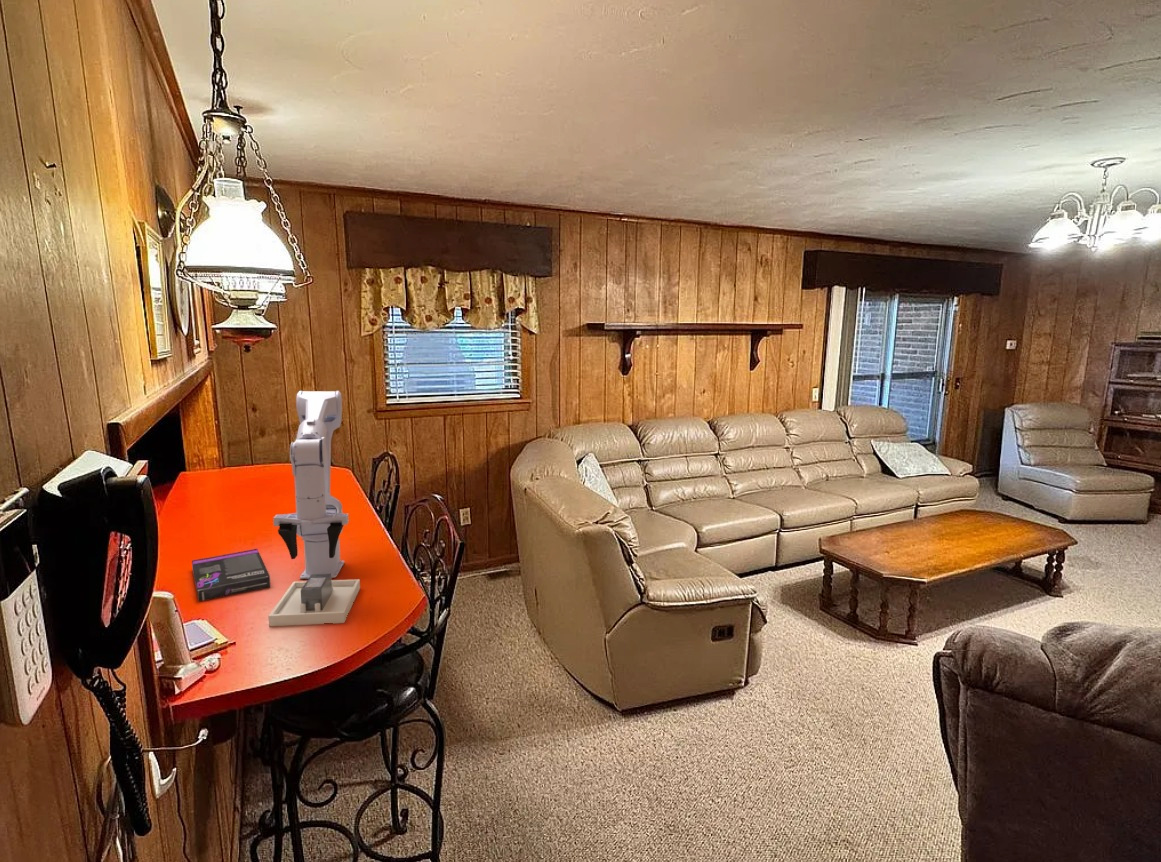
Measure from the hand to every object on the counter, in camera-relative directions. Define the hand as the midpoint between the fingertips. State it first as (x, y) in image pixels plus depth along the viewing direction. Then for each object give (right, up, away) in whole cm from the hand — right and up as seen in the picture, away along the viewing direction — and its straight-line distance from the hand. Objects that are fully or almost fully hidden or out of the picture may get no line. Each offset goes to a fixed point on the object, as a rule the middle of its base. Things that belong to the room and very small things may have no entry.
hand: (313, 556), depth 129 cm
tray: (+2, -10, -2) cm, 10 cm away
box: (-24, -8, +10) cm, 27 cm away
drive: (+2, -9, -2) cm, 9 cm away
